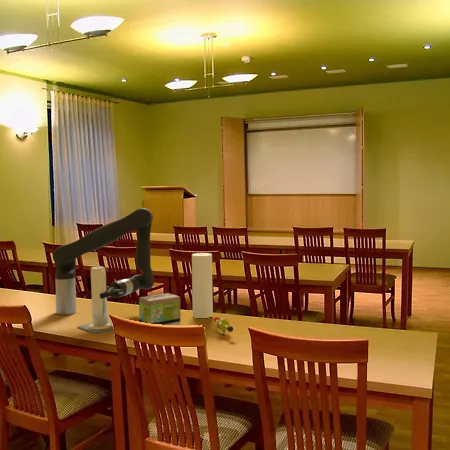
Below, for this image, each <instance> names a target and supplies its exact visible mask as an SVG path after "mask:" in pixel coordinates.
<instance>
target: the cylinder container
mask: <svg viewBox="0 0 450 450" xmlns="http://www.w3.org/2000/svg"><path fill="white" fill-rule="evenodd" d="M191 281H192V282H191V284H192V286H191V287H192V294H191V295H192V318H193V317H194V319H196V318H208V317H211V316H212V315H214V314H213V313H214V311H213V307H214V306H213V304H214V303H213V254H212V253H209V252H208V253H207V252H200V253H199V252H196V253H192V254H191ZM208 319H209V318H208Z"/></svg>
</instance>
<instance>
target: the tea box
mask: <svg viewBox="0 0 450 450" xmlns="http://www.w3.org/2000/svg"><path fill="white" fill-rule="evenodd" d="M138 299H139V300H138V303H139V305H138V306H139V307H138V313H139V314H138V317H139V318H138V323H139V322H145V323H151V324H162V325H180V326H181V296H178V295H176V294H172V293H170V292H166V293H160V294H156V295H147V296H140V297H139V298H138Z"/></svg>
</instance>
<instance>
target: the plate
mask: <svg viewBox="0 0 450 450" xmlns="http://www.w3.org/2000/svg"><path fill="white" fill-rule="evenodd" d="M111 322H112V321H109V320H108V323H107V324H105V325H99V326H97V325H93V322H91V323H86V324H82V325H78V326H77V329H80V330H83V331H86V332H89V333H92V334H94V335H95V334H100V333H104V332H108V330H109V331H111V329H113V326H112V323H111ZM113 330H114V329H113Z"/></svg>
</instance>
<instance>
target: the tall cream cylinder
mask: <svg viewBox="0 0 450 450" xmlns="http://www.w3.org/2000/svg"><path fill="white" fill-rule="evenodd" d="M90 285H91V286H90V287H91V291H90V292H92V297H91V311H92V312H91V313H92V323H93V325H97V326H99V325H105V324H107V323H108V321H109V320H108V297H106V298H103V299H101V298H100V294H101V293H105V292H107V289H106V287H107V269H106V268H105V267H104V266H91V268H90Z"/></svg>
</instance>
